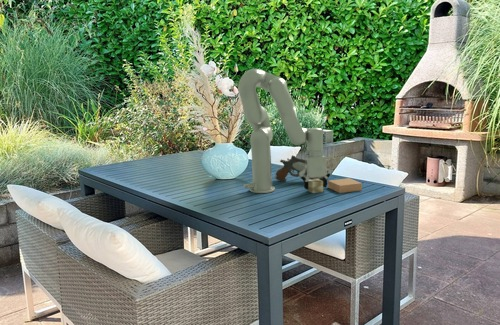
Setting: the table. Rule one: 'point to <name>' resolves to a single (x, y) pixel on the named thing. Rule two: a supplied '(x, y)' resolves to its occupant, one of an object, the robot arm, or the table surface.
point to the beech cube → (315, 186)
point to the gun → (294, 165)
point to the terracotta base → (344, 185)
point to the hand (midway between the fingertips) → (315, 188)
